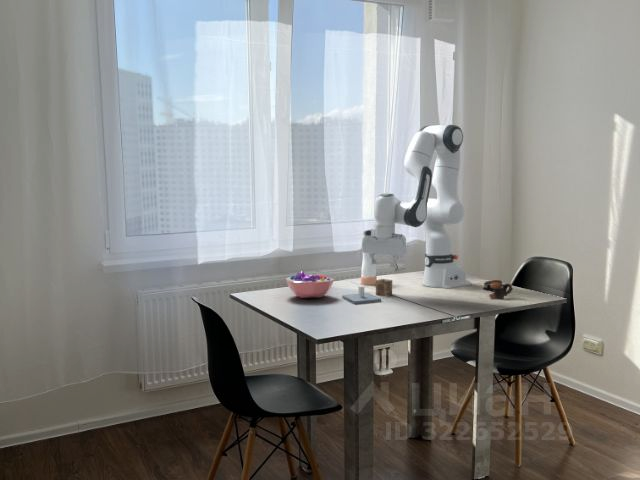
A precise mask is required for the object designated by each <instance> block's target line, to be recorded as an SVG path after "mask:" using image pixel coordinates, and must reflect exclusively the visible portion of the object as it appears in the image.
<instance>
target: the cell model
mask: <svg viewBox="0 0 640 480" xmlns="http://www.w3.org/2000/svg"><path fill="white" fill-rule="evenodd" d="M285 280H286V282H287V285H288V287H289V289H290V291H291V292H292V293H293V295H294V296H297V297H298V298H301V299H312V298H322V297H324V296H325V295H327V294H328V293H329V292H330V290H331V289H332V286H333V285H334V284H333V283H334V280H335V279H334V278H333V277H330V276H328V275H324V274H323V275H322V274H305V272H304V270H300V271H298V272H297V273H296V274H295V275H290V276H287V277H286V279H285Z"/></svg>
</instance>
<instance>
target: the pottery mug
mask: <svg viewBox="0 0 640 480" xmlns="http://www.w3.org/2000/svg"><path fill="white" fill-rule="evenodd" d="M483 284H484V285H483V288H482V290H483V291H486V292H491V293H490V294H489V298H490V300H495V299H498V300H501V299H502V300H504V299H505V297H507V296H508V295H510V294H511V293H512V292H513V289H514V288H513V285H512V284H510V283H503V282H502V280H500V279H493V280H488V281H486V282H484V283H483Z"/></svg>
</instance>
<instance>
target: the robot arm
mask: <svg viewBox="0 0 640 480" xmlns="http://www.w3.org/2000/svg"><path fill="white" fill-rule="evenodd" d="M463 140H464V132H463V130H462V129H461V127H459V126H458V125H454V124H436V125H435V124H434V125H426V126H423V127H421V128H420V129H419V130H418V132H415V134H414V136H413V137H412V139H411V141H410V143H409V145H408V148H407V151H406V154H405V156H404V161H403V166H404V169H405V170H406V172H407V173H408V174H409V175H410V176H412V177H413V178H414V179H415V180H416V187H415V192H414V197H413V200H412V201H410V202H408V201H402V200H401V199H398V198H397V197H396V196H395V194H394V193H382V194H378V195H377V196H376V198H375V202H374V210H373V211H374V213H373V215H374V222H373V228H370V229H366V230H365V229H364V231H363V232H362V233H363V238H362V240H361V241H362V242H361V247H362V250H361V251H362V253H363V252H365V253H369V256H370V258H371V264H375V265H376V264H377V261H378V260H377V259H376V257H375V258H374V255H375V256H376V255H383V256H389V257H390V256H391V257H392V259H393V260H392V261H391V262H389V263H390V265H389V266H390V267H396V263H397V261H398V260H399V258H402V257H406V255H407V245H406V242H407V239H406V238H407V237H406V236H405V235H403V234H402V233H396V224H398V225H403V226H409V227H413V228H418V227H420V226H422V228H423V231H424V235H425V236H424V237H425V253H424V273H423V278H422V281H421V285H422V286H427V287H432V288H443V289H451V288H452V289H453V288H459V287H463V286H470V285H472V281H470V280H468V279H467V275H466V271H465V269H464V268H462V267H461V266H460V265H459V264H458V263H456V262H455V260H458V259H459V255H457V254H453V253H451V252H452V251H451V249H452V246H451V245H452V237H451V235H450V234H449V233H448V232H447V231H446V228H445V226H444V225H449V226H450V225H456V224H459V223H461V221H462V220H463V219H464V217H465V208H464V207H465V206H463V204H462V203H461V201H460V200H459V196H458V191H457V188H458V187H457V186H458V178H459V175H460V174H459V172H460V169H461V168H460V166H461V149H460V148H461V146H462V145H463V144H462V143H463V142H464V141H463ZM435 151H436V153H437V155H436V157H435V158H436V159H435V162H434V167H433V168H434V169H433V172H432V169H431V164H432V160H433V156H434V153H435ZM431 187H433V188H434V189H435V191H436V197H437V198H431V197H430V198H429V195H430V191H431Z"/></svg>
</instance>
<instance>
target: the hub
mask: <svg viewBox="0 0 640 480" xmlns="http://www.w3.org/2000/svg"><path fill="white" fill-rule="evenodd" d="M341 299H343V300H344V301H347V302H348V303H351V304H353V305H361V304H370V303H371V304H372V303H380V302H382V298H381V297H378V296H377V295H374V294H372V293H369V292H365V285H358V293H351V294H343V295H342V296H341Z"/></svg>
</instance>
